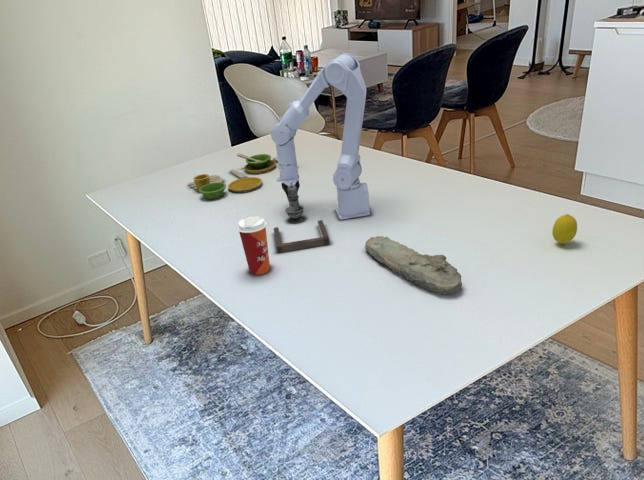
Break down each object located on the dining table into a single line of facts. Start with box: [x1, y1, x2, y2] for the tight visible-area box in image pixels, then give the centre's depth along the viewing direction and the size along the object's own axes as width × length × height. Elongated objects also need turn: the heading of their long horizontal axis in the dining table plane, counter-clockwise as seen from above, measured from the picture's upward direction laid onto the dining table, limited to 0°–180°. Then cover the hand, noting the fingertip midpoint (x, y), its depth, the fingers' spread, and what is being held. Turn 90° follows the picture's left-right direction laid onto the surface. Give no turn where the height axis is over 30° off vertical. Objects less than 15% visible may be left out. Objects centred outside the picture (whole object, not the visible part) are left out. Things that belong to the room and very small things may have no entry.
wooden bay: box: [273, 219, 330, 254], centre depth 166 cm, size 15×14×2 cm
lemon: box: [551, 213, 578, 246], centre depth 141 cm, size 6×6×8 cm
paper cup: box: [236, 216, 271, 276], centre depth 150 cm, size 8×8×14 cm
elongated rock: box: [364, 235, 463, 295], centre depth 142 cm, size 35×5×10 cm
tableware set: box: [188, 152, 278, 200], centre depth 214 cm, size 41×28×6 cm
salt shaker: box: [285, 183, 305, 224], centre depth 175 cm, size 6×6×12 cm
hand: (293, 204), depth 183 cm, fingers closed
